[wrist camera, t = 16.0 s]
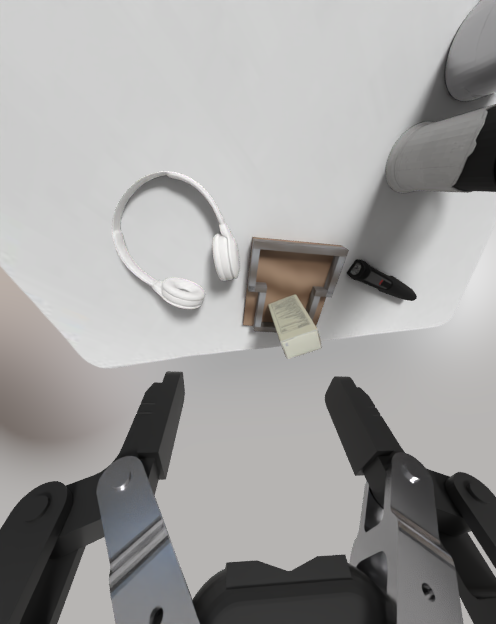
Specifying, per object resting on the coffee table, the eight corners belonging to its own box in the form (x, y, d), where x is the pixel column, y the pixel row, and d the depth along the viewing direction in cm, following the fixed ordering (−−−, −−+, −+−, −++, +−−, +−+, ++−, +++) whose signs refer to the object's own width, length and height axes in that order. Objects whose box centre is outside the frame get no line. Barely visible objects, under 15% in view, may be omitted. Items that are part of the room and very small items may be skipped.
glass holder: (398, 121, 29) (528, 72, 16) (494, 121, 29) (694, 73, 16) (377, 193, 33) (465, 200, 21) (461, 192, 34) (596, 197, 21)
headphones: (259, 265, 31) (160, 134, 25) (176, 328, 36) (77, 233, 30) (258, 257, 37) (180, 151, 31) (188, 311, 43) (109, 230, 36)
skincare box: (273, 319, 44) (285, 361, 34) (267, 303, 42) (278, 342, 32) (302, 309, 43) (323, 349, 33) (297, 293, 41) (318, 329, 31)
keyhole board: (252, 237, 36) (253, 241, 33) (341, 245, 37) (348, 250, 35) (243, 322, 46) (243, 330, 43) (313, 326, 47) (318, 334, 45)
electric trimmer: (398, 300, 45) (408, 307, 43) (344, 274, 41) (352, 280, 38) (411, 285, 44) (423, 292, 41) (357, 257, 39) (366, 262, 36)
